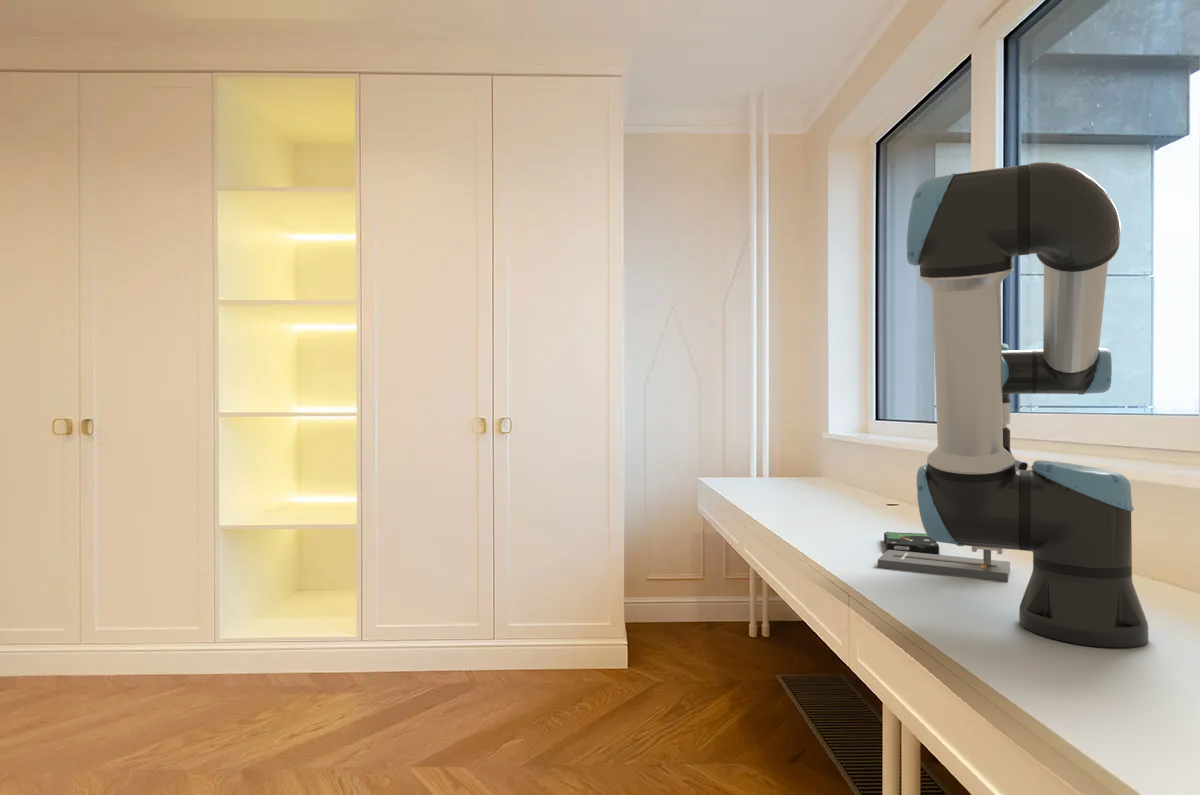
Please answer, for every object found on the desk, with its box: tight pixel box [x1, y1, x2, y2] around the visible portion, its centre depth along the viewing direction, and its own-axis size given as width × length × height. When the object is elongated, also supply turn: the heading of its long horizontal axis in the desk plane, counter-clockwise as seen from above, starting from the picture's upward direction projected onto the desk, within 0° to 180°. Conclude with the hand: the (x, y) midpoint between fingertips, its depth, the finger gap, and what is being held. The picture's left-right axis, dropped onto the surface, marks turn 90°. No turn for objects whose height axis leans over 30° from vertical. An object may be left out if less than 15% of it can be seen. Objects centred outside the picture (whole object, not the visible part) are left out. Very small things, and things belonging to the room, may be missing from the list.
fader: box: [976, 546, 998, 565], centre depth 138 cm, size 5×4×10 cm
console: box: [877, 550, 1011, 583], centre depth 142 cm, size 11×22×2 cm, turn 59°
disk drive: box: [883, 531, 940, 555], centre depth 161 cm, size 10×3×15 cm
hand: (987, 551), depth 138 cm, fingers closed on fader, 3 cm apart
